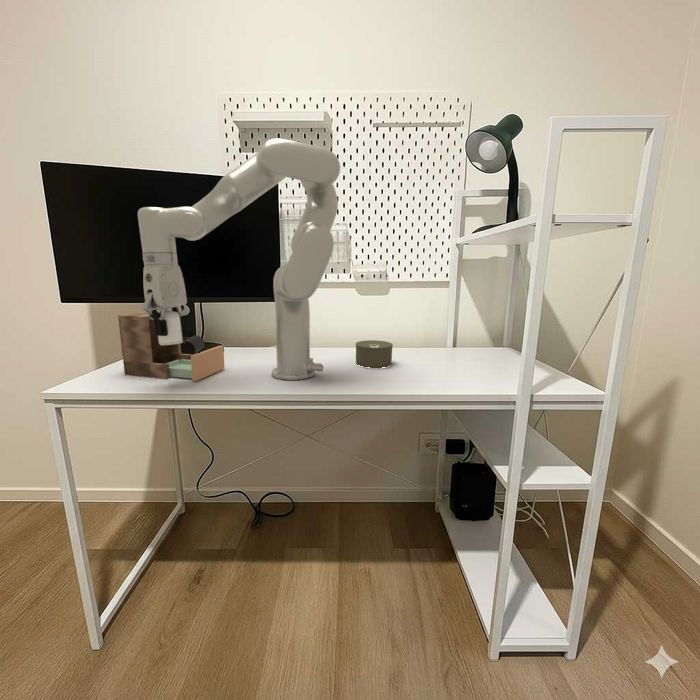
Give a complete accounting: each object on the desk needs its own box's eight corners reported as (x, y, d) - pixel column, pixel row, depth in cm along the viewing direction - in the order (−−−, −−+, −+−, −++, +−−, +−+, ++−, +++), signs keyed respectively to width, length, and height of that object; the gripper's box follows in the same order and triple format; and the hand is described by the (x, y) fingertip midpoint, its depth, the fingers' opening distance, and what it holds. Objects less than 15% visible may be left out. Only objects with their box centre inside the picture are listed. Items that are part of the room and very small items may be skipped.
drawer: (224, 368, 118) (223, 345, 116) (195, 381, 105) (193, 356, 103) (184, 364, 121) (182, 342, 120) (151, 377, 108) (149, 352, 107)
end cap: (195, 360, 129) (194, 340, 127) (173, 360, 128) (172, 340, 127) (205, 353, 138) (204, 335, 137) (185, 353, 138) (183, 335, 137)
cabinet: (196, 367, 120) (192, 312, 116) (167, 379, 108) (162, 317, 104) (157, 364, 123) (152, 310, 120) (124, 374, 111) (118, 315, 107)
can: (390, 360, 133) (391, 340, 131) (393, 369, 121) (394, 348, 120) (355, 359, 133) (355, 340, 131) (354, 368, 121) (355, 347, 120)
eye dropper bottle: (178, 345, 98) (172, 297, 96) (156, 345, 99) (149, 298, 96) (185, 341, 103) (180, 296, 100) (164, 342, 103) (158, 296, 100)
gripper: (148, 260, 87) (158, 340, 91) (195, 260, 103) (202, 328, 107) (120, 261, 89) (132, 339, 93) (171, 260, 105) (179, 327, 109)
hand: (169, 332), depth 100 cm, fingers closed on eye dropper bottle, 5 cm apart
